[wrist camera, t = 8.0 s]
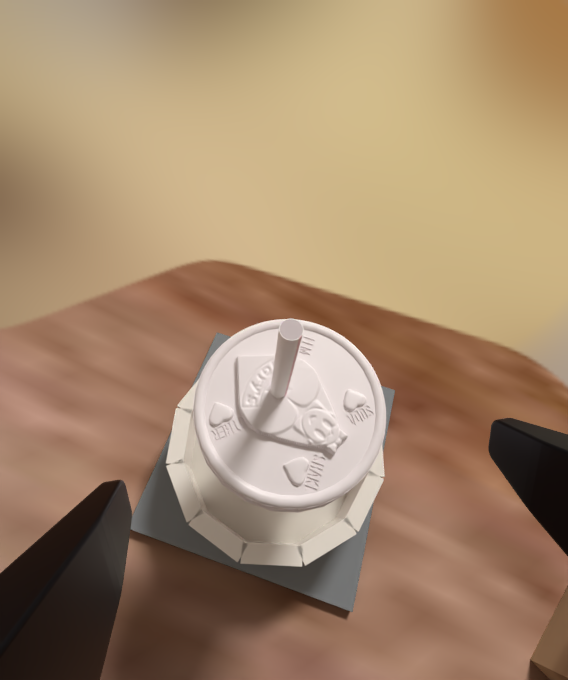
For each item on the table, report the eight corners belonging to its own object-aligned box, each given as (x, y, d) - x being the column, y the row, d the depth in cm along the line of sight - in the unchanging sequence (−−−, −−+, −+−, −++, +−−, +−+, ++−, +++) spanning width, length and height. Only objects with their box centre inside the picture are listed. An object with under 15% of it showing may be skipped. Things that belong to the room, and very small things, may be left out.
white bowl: (402, 496, 21) (424, 492, 18) (225, 603, 18) (221, 617, 15) (310, 341, 25) (317, 318, 22) (153, 410, 22) (140, 394, 19)
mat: (392, 392, 24) (394, 390, 23) (350, 610, 19) (352, 612, 18) (217, 335, 25) (217, 332, 24) (129, 527, 19) (126, 528, 19)
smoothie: (270, 376, 23) (293, 194, 10) (354, 448, 21) (504, 337, 9) (191, 458, 20) (94, 353, 8) (280, 546, 19) (340, 592, 6)
